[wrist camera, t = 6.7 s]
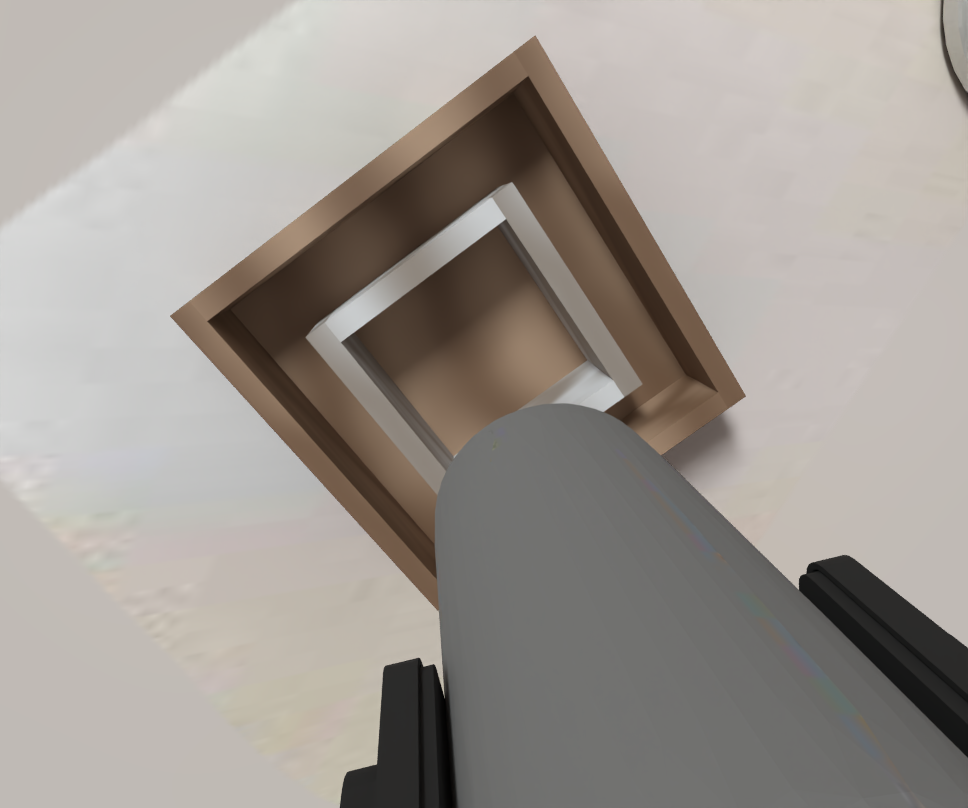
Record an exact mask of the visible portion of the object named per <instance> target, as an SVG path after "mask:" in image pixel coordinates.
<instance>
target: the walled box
mask: <svg viewBox="0 0 968 808" xmlns="http://www.w3.org/2000/svg"><path fill="white" fill-rule="evenodd" d="M170 317H171V318H172V319H173V320H174V321H175V322H176V323H177V324H178V325H179V327H180V328H181V329H182V330H183V331H184V332H185V333H186V334H187V335H188V336H189V338H190V339H191V340H192V341H193V342H194V343H195V344H196V345H197V346H198V347H199V349H200V350H201V351H202V352H203V353H204V354H205V355H206V356H207V357H208V358H209V360H210V361H211V362H212V363H213V364H214V365H215V366H216V367H217V368H218V369H219V371H220V372H221V373H222V374H223V375H224V376H225V377H226V378H227V379H228V380H229V382H230V383H231V384H232V385H233V386H234V387H235V388H236V389H237V390H238V391H239V393H240V394H241V395H242V396H243V397H244V398H245V399H246V400H247V401H248V402H249V404H250V405H251V406H252V407H253V408H254V409H255V410H256V411H257V412H258V413H259V415H260V416H261V417H262V418H263V419H264V420H265V421H266V422H267V423H268V424H269V426H270V427H271V428H272V429H273V430H274V431H275V432H276V433H277V434H278V435H279V437H280V438H281V439H282V440H283V441H284V442H285V443H286V444H287V445H288V446H289V448H290V449H291V450H292V451H293V452H294V453H295V454H296V455H297V456H298V457H299V459H300V460H301V461H302V462H303V463H304V464H305V465H306V466H307V467H308V468H309V470H310V471H311V472H312V473H313V474H314V475H315V476H316V477H317V478H318V479H319V481H320V482H321V483H322V484H323V485H324V486H325V487H326V488H327V489H328V490H329V492H330V493H331V494H332V495H333V496H334V497H335V498H336V499H337V500H338V501H339V503H340V504H341V505H342V506H343V507H344V508H345V509H346V510H347V511H348V512H349V514H350V515H351V516H352V517H353V518H354V519H355V520H356V521H357V522H358V523H359V525H360V526H361V527H362V528H363V529H364V530H365V531H366V532H367V533H368V534H369V536H370V537H371V538H372V539H373V540H374V541H375V542H376V543H377V544H378V545H379V547H380V548H381V549H382V550H383V551H384V552H385V553H386V554H387V555H388V556H389V558H390V559H391V560H392V561H393V562H394V563H395V564H396V565H397V566H398V567H399V569H400V570H401V571H402V572H403V573H404V574H405V575H406V576H407V577H408V578H409V580H410V581H411V582H412V583H413V584H414V585H415V586H416V587H417V588H418V589H419V591H420V592H421V593H422V594H423V595H424V596H425V597H426V598H427V599H428V600H429V602H430V603H431V604H432V605H433V606H434V607H435V608H436V609H437V610H439V603H438V588H437V572H436V557H435V508H436V501H437V496H438V492H439V489H440V486H441V482H442V480H443V477H444V475H445V473H446V471H447V469H448V467H449V465H450V464H451V462H452V461H453V459H454V458H455V456H456V455H457V454H458V452H459V451H460V450H461V449H462V448H463V446H464V445H465V444H466V443H467V442H468V441H469V440H470V439H471V438H472V437H473V436H474V435H476V434H477V433H478V432H479V431H481V430H482V429H483V428H484V427H486V426H487V425H489V424H490V423H492V422H493V421H495V420H497V419H499V418H501V417H503V416H505V415H507V414H510V413H513V412H515V411H518V410H521V409H524V408H528V407H532V406H537V405H542V404H558V403H569V404H575V405H581V406H585V407H590V408H594V409H597V410H599V411H602V412H604V413H607V414H609V415H611V416H613V417H615V418H617V419H618V420H620V421H622V422H623V423H624V424H626V425H627V426H628V427H630V428H631V429H632V430H634V431H635V432H636V433H637V434H638V435H639V436H640V437H641V438H642V439H643V440H645V441H646V442H647V443H648V444H649V445H650V446H651V447H652V448H653V449H655V450H656V451H657V452H658V453H659V454H660V455H662V454H664V453H665V452H667V451H668V450H670V449H671V448H672V447H674V446H675V445H677V444H678V443H680V442H681V441H682V440H684V439H685V438H687V437H688V436H690V435H691V434H692V433H694V432H695V431H697V430H698V429H700V428H701V427H703V426H704V425H705V424H707V423H708V422H710V421H711V420H713V419H714V418H715V417H717V416H718V415H720V414H721V413H723V412H724V411H726V410H727V409H728V408H730V407H731V406H733V405H734V404H736V403H737V402H738V401H740V400H741V399H743V398H744V397H746V396H745V394H744V392H743V390H742V389H741V387H740V385H739V384H738V382H737V380H736V378H735V377H734V375H733V373H732V372H731V370H730V368H729V366H728V365H727V363H726V361H725V360H724V358H723V356H722V354H721V353H720V351H719V349H718V348H717V346H716V344H715V342H714V341H713V339H712V337H711V336H710V334H709V332H708V330H707V329H706V327H705V325H704V324H703V322H702V320H701V318H700V317H699V315H698V313H697V312H696V310H695V308H694V306H693V305H692V303H691V301H690V300H689V298H688V296H687V294H686V293H685V291H684V289H683V288H682V286H681V284H680V282H679V281H678V279H677V277H676V276H675V274H674V272H673V270H672V269H671V267H670V265H669V264H668V262H667V260H666V258H665V257H664V255H663V253H662V252H661V250H660V248H659V246H658V245H657V243H656V241H655V240H654V238H653V236H652V234H651V233H650V231H649V229H648V228H647V226H646V224H645V222H644V221H643V219H642V217H641V216H640V214H639V212H638V210H637V209H636V207H635V205H634V204H633V202H632V200H631V198H630V197H629V195H628V193H627V192H626V190H625V188H624V186H623V185H622V183H621V181H620V180H619V178H618V176H617V174H616V173H615V171H614V169H613V168H612V166H611V164H610V163H609V161H608V159H607V157H606V156H605V154H604V152H603V151H602V149H601V147H600V145H599V144H598V142H597V140H596V139H595V137H594V135H593V133H592V132H591V130H590V128H589V127H588V125H587V123H586V121H585V120H584V118H583V116H582V115H581V113H580V111H579V109H578V108H577V106H576V104H575V103H574V101H573V99H572V97H571V96H570V94H569V92H568V91H567V89H566V87H565V85H564V84H563V82H562V80H561V79H560V77H559V75H558V73H557V72H556V70H555V68H554V67H553V65H552V63H551V61H550V60H549V58H548V56H547V55H546V53H545V51H544V49H543V48H542V46H541V44H540V43H539V41H538V39H537V37H536V36H534V37H532V38H531V39H530V40H529V41H527V42H526V43H525V44H523V45H522V46H521V47H519V48H518V49H517V50H515V51H514V52H513V53H512V54H510V55H509V56H508V57H506V58H505V59H504V60H502V61H501V62H500V63H499V64H497V65H496V66H495V67H493V68H492V69H491V70H489V71H488V72H487V73H486V74H484V75H483V76H482V77H480V78H479V79H478V80H476V81H475V82H474V83H473V84H471V85H470V86H469V87H467V88H466V89H465V90H463V91H462V92H461V93H460V94H458V95H457V96H456V97H454V98H453V99H452V100H450V101H449V102H448V103H447V104H445V105H444V106H443V107H441V108H440V109H439V110H437V111H436V112H435V113H434V114H432V115H431V116H430V117H428V118H427V119H426V120H424V121H423V122H422V123H421V124H419V125H418V126H417V127H415V128H414V129H413V130H411V131H410V132H409V133H408V134H406V135H405V136H404V137H402V138H401V139H400V140H398V141H397V142H396V143H395V144H393V145H392V146H391V147H389V148H388V149H387V150H385V151H384V152H383V153H382V154H380V155H379V156H378V157H376V158H375V159H374V160H372V161H371V162H370V163H368V164H367V165H366V166H365V167H363V168H362V169H361V170H359V171H358V172H357V173H355V174H354V175H353V176H352V177H350V178H349V179H348V180H346V181H345V182H344V183H342V184H341V185H340V186H339V187H337V188H336V189H335V190H333V191H332V192H331V193H329V194H328V195H327V196H326V197H324V198H323V199H322V200H320V201H319V202H318V203H316V204H315V205H314V206H313V207H311V208H310V209H309V210H307V211H306V212H305V213H303V214H302V215H301V216H300V217H298V218H297V219H296V220H294V221H293V222H292V223H290V224H289V225H288V226H287V227H285V228H284V229H283V230H281V231H280V232H279V233H277V234H276V235H275V236H274V237H272V238H271V239H270V240H268V241H267V242H266V243H264V244H263V245H262V246H261V247H259V248H258V249H257V250H255V251H254V252H253V253H251V254H250V255H249V256H248V257H246V258H245V259H244V260H242V261H241V262H240V263H238V264H237V265H236V266H235V267H233V268H232V269H231V270H229V271H228V272H227V273H225V274H224V275H223V276H221V277H220V278H219V279H218V280H216V281H215V282H214V283H212V284H211V285H210V286H208V287H207V288H206V289H205V290H203V291H202V292H201V293H199V294H198V295H197V296H195V297H194V298H193V299H192V300H190V301H189V302H188V303H186V304H185V305H184V306H182V307H181V308H180V309H179V310H177V311H176V312H175V313H173V314H172V315H171V316H170Z"/></svg>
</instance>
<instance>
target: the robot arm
mask: <svg viewBox="0 0 968 808" xmlns="http://www.w3.org/2000/svg"><path fill="white" fill-rule="evenodd" d="M943 23H944V31H945V39H946V46H947V50H948V53H949V56H950V59H951V62H952V65H953V69H954V71H955V73H956V74H957V76H958V78H959V80H960V82H961V83H962V85H963V87H964V89H965V90H966V91H967V92H968V0H944V6H943ZM799 591H800V592H801V593H802V594H803V595H804V596H805V597H806V598H807V599H808V600H810V601H811V602H812V603H813V604H814V605H815V606H816V607H817V608H818V609H819V610H820V611H821V612H822V613H823V614H824V615H825V616H826V617H827V618H828V619H829V620H830V621H831V622H832V623H833V624H834V625H835V626H836V627H837V628H838V629H839V630H840V631H841V632H842V633H843V634H844V635H845V636H846V637H847V638H848V639H849V640H850V641H851V642H852V643H853V644H854V645H855V646H856V647H857V648H858V649H859V650H860V651H861V652H862V653H863V654H864V655H865V656H866V657H867V658H868V659H869V660H870V661H871V662H872V663H873V664H874V665H875V666H876V667H877V668H878V669H879V670H880V671H881V672H882V673H883V674H884V675H885V676H886V677H887V678H888V679H889V680H890V681H891V682H892V683H893V684H894V685H895V686H896V687H897V688H898V689H899V690H900V691H901V692H902V693H903V694H904V695H905V696H906V697H907V698H908V699H909V700H910V701H911V702H912V703H913V704H914V705H915V706H916V707H917V708H918V709H919V710H920V711H921V712H922V713H923V714H924V715H925V716H926V717H927V718H928V719H929V720H930V721H931V722H932V723H933V724H934V725H935V726H936V727H937V728H938V729H939V730H940V731H941V732H942V733H943V734H944V735H945V736H946V737H947V738H948V739H949V740H950V741H951V742H952V743H953V744H954V745H955V746H956V747H957V748H958V749H959V750H960V751H961V752H962V753H963V754H964V755H965V756H966V757H967V758H968V648H967V647H966V646H964V645H963V644H962V643H961V642H959V641H958V640H957V639H955V638H954V637H953V636H952V635H950V634H948V633H947V632H946V631H944V630H943V629H942V628H941V627H939V626H938V625H937V624H936V623H934V622H933V621H932V620H931V619H929V618H928V617H927V616H926V615H924V614H923V613H922V612H920V611H919V610H918V609H917V608H915V607H914V606H913V605H912V604H910V603H909V602H908V601H907V600H905V599H904V598H903V597H902V596H900V595H899V594H898V593H896V592H895V591H894V590H893V589H891V588H890V587H889V586H888V585H886V584H885V583H884V582H882V581H881V580H880V579H879V578H878V577H876V576H875V575H874V574H872V573H871V572H870V571H869V570H867V569H866V568H865V567H863V566H862V565H861V564H860V563H858V562H857V561H856V560H855V559H853V558H851V557H850V556H847V555H842V556H838V557H834V558H829V559H826V560H821V561H817V562H813V563H811V564H809V565H808V567H807V573H806V574H804V575H802V576H800V578H799ZM340 808H452V795H451V781H450V767H449V752H448V738H447V724H446V710H445V698H444V695H443V691H442V687H441V684H440V680H439V677H438V673H437V670H436V667H435V665H434V664H433V665H429V666H425V667H423V664H422V662H421V660H420V658H416V659H412V660H408V661H404V662H400V663H395V664H391V665H387V666H385V667H384V671H383V684H382V699H381V714H380V729H379V745H378V760H377V765H373V766H369V767H365V768H361V769H357V770H353V771H349V772H347V774H346V776H345V778H344V782H343V787H342V794H341V802H340Z"/></svg>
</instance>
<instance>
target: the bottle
mask: <svg viewBox="0 0 968 808" xmlns="http://www.w3.org/2000/svg"><path fill="white" fill-rule="evenodd" d="M435 557H436V572H437V588H438V603H439V618H440V634H441V649H442V664H443V679H444V695H445V710H446V724H447V738H448V752H449V767H450V781H451V795H452V808H968V758H967V757H966V756H965V755H964V754H963V753H962V752H961V751H960V750H959V749H958V748H957V747H956V746H955V745H954V744H953V743H952V742H951V741H950V740H949V739H948V738H947V737H946V736H945V735H944V734H943V733H942V732H941V731H940V730H939V729H938V728H937V727H936V726H935V725H934V724H933V723H932V722H931V721H930V720H929V719H928V718H927V717H926V716H925V715H924V714H923V713H922V712H921V711H920V710H919V709H918V708H917V707H916V706H915V705H914V704H913V703H912V702H911V701H910V700H909V699H908V698H907V697H906V696H905V695H904V694H903V693H902V692H901V691H900V690H899V689H898V688H897V687H896V686H895V685H894V684H893V683H892V682H891V681H890V680H889V679H888V678H887V677H886V676H885V675H884V674H883V673H882V672H881V671H880V670H879V669H878V668H877V667H876V666H875V665H874V664H873V663H872V662H871V661H870V660H869V659H868V658H867V657H866V656H865V655H864V654H863V653H862V652H861V651H860V650H859V649H858V648H857V647H856V646H855V645H854V644H853V643H852V642H851V641H850V640H849V639H848V638H847V637H846V636H845V635H844V634H843V633H842V632H841V631H840V630H839V629H838V628H837V627H836V626H835V625H834V624H833V623H832V622H831V621H830V620H829V619H828V618H827V617H826V616H825V615H824V614H823V613H822V612H821V611H820V610H819V609H818V608H817V607H816V606H815V605H814V604H813V603H812V602H811V601H810V600H808V599H807V598H806V597H805V596H804V595H803V594H802V593H801V592H800V591H799V590H798V589H797V588H796V587H795V586H794V585H793V584H792V583H791V582H790V581H789V580H788V579H787V578H786V577H785V576H784V575H783V574H782V573H781V572H780V571H779V570H778V569H777V568H776V567H775V566H774V565H773V564H772V563H771V562H769V560H768V559H767V558H765V557H764V556H763V555H762V554H761V553H760V552H759V551H758V550H757V549H756V548H755V547H754V546H753V545H752V544H751V543H750V542H749V541H748V540H747V539H746V538H745V537H744V536H743V535H742V534H741V533H740V532H739V531H738V530H737V529H736V528H735V527H734V526H733V525H732V524H731V523H730V522H729V521H728V520H727V519H726V518H725V517H724V516H723V515H722V514H721V513H719V512H718V511H717V510H716V509H715V508H714V507H713V506H712V505H711V504H710V503H709V502H708V501H707V500H706V499H705V498H704V497H703V496H702V495H701V494H700V493H699V492H698V491H697V490H696V489H695V488H694V487H693V486H692V485H691V484H690V483H689V482H688V481H687V480H686V479H685V478H684V477H683V476H682V475H681V474H680V473H679V472H678V471H676V470H675V469H674V468H673V467H672V466H671V465H670V464H669V463H668V462H667V461H666V460H665V459H664V458H663V457H662V456H661V455H660V454H659V453H658V452H657V451H656V450H655V449H653V448H652V447H651V446H650V445H649V444H648V443H647V442H646V441H645V440H643V439H642V438H641V437H640V436H639V435H638V434H637V433H636V432H635V431H634V430H632V429H631V428H630V427H628V426H627V425H626V424H624V423H623V422H622V421H620V420H618V419H617V418H615V417H613V416H611V415H609V414H607V413H604V412H602V411H599V410H597V409H594V408H590V407H585V406H581V405H575V404H569V403H558V404H542V405H537V406H532V407H528V408H524V409H521V410H518V411H515V412H513V413H510V414H507V415H505V416H503V417H501V418H499V419H497V420H495V421H493V422H492V423H490V424H489V425H487V426H486V427H484V428H483V429H482V430H481V431H479V432H478V433H477V434H476V435H474V436H473V437H472V438H471V439H470V440H469V441H468V442H467V443H466V444H465V445H464V446H463V448H462V449H461V450H460V451H459V452H458V454H457V455H456V456H455V458H454V459H453V461H452V462H451V464H450V465H449V467H448V469H447V471H446V473H445V475H444V477H443V480H442V482H441V486H440V489H439V492H438V496H437V501H436V508H435Z"/></svg>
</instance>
